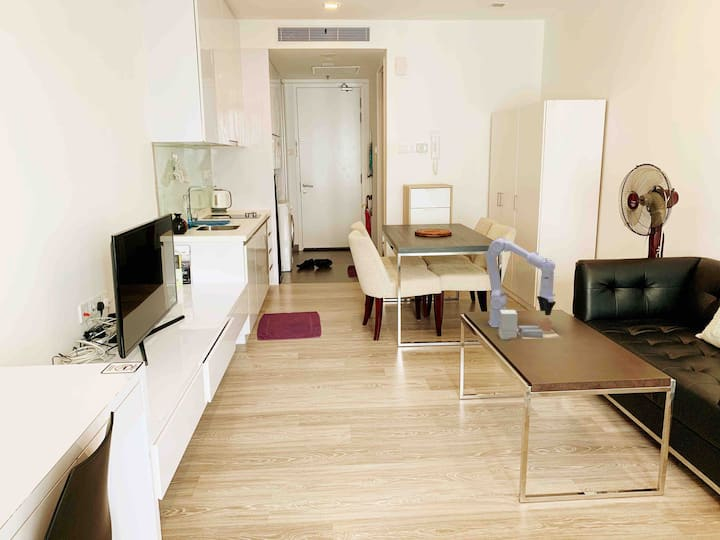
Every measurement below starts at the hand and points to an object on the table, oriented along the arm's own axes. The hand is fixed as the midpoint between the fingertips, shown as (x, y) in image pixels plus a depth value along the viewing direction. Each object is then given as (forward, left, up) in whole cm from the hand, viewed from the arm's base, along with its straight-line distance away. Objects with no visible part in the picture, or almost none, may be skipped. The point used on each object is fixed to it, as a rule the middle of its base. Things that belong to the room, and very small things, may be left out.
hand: (545, 313), depth 268 cm
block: (0, 0, -8) cm, 8 cm away
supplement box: (+8, -20, -10) cm, 24 cm away
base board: (+4, -5, -9) cm, 12 cm away
